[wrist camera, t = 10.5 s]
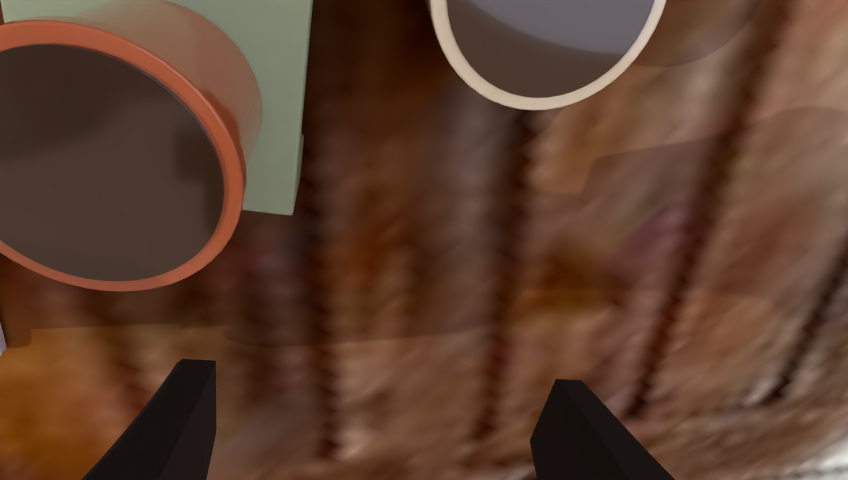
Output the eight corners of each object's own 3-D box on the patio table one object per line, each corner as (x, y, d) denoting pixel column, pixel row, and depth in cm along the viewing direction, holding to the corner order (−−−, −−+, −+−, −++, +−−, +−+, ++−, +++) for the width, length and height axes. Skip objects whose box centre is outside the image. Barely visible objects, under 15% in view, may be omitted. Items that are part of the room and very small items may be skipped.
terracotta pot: (61, 182, 15) (-44, 281, 11) (28, -38, 12) (-129, -10, 8) (267, 206, 16) (238, 306, 12) (279, 10, 13) (246, 54, 9)
